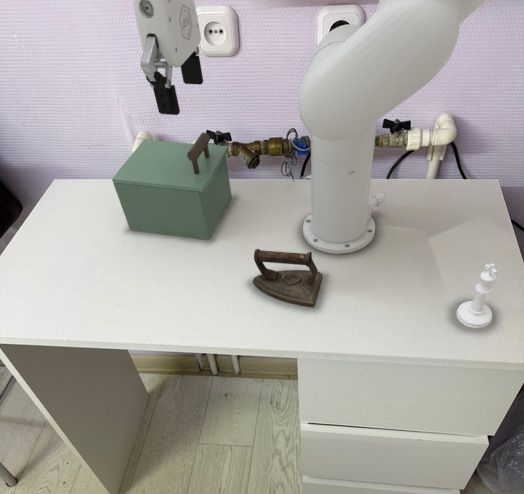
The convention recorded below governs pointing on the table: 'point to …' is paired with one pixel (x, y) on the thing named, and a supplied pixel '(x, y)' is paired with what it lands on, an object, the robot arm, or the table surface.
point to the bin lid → (172, 164)
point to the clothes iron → (288, 277)
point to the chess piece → (478, 302)
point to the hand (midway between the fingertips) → (182, 97)
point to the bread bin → (177, 207)
